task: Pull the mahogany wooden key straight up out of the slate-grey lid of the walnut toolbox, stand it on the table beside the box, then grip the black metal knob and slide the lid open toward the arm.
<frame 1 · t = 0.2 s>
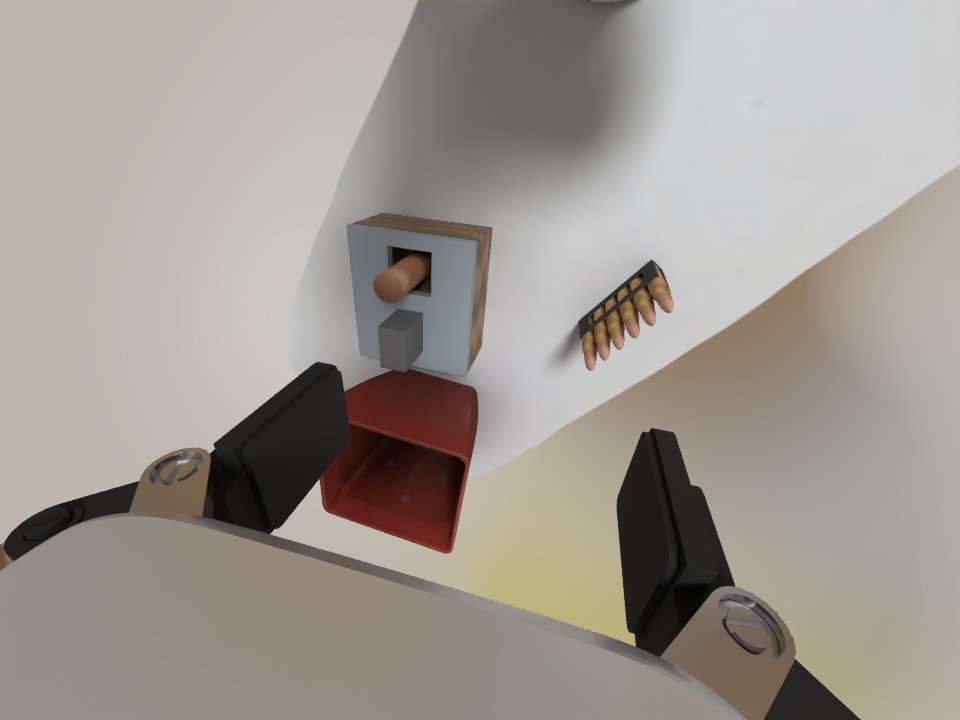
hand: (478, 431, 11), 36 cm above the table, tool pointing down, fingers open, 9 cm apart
ammunition clip: (618, 296, 45), on the table
toolbox lid: (403, 313, 41), point 10 cm above the table, slide at 0.0 cm
walnut toolbox: (434, 283, 49), on the table
wooden key: (432, 255, 46), point 1 cm above the table, touching walnut toolbox
plant pot: (433, 407, 60), on the table
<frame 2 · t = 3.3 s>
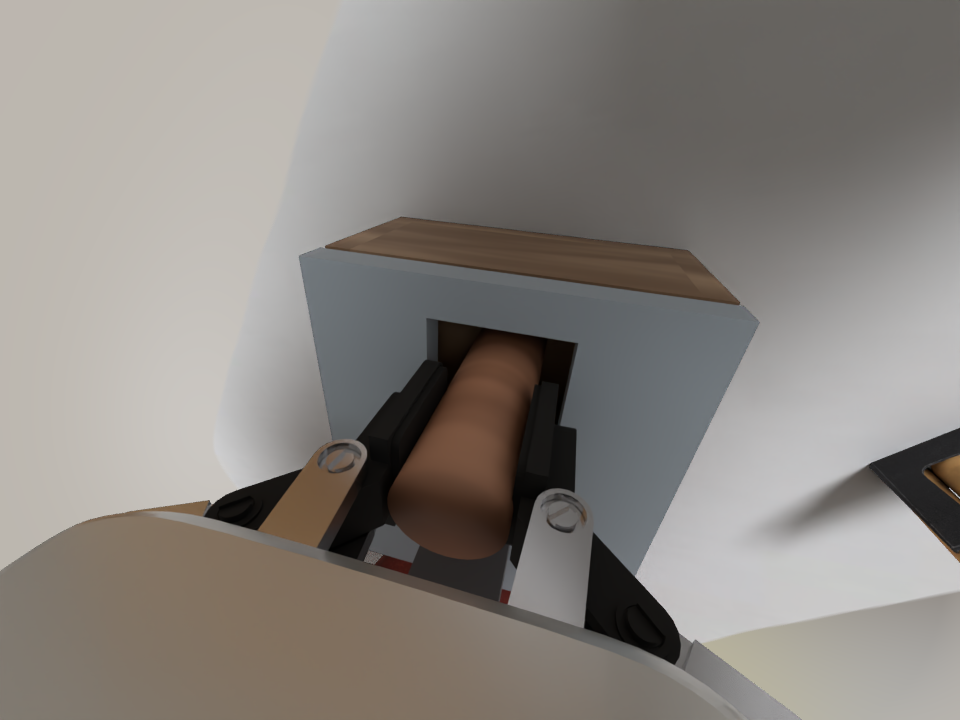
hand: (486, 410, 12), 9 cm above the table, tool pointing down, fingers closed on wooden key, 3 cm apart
toolbox lid: (473, 510, 14), point 10 cm above the table, slide at 0.0 cm
walnut toolbox: (516, 371, 22), on the table
wooden key: (522, 315, 19), point 1 cm above the table, touching gripper, walnut toolbox
plant pot: (489, 568, 33), on the table
when the fingers open (10 cm above the table, at t = 9.0 s): wooden key drops 1 cm, on the table.
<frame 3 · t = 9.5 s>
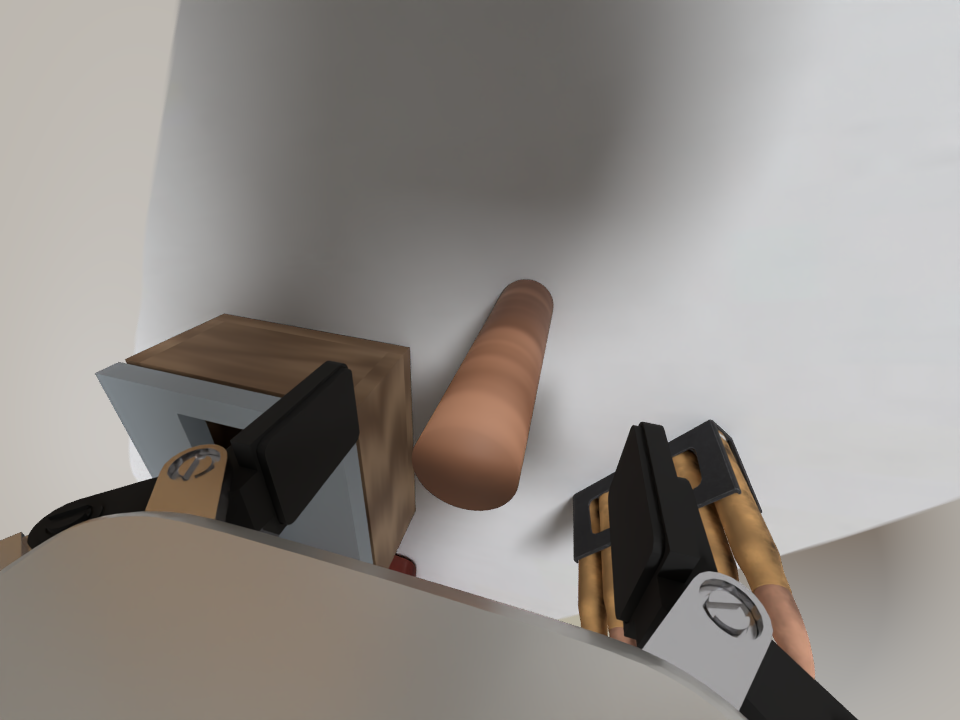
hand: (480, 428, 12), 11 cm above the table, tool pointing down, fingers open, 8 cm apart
ammunition clip: (643, 467, 24), on the table
toolbox lid: (223, 535, 21), point 10 cm above the table, slide at 0.0 cm
walnut toolbox: (329, 421, 29), on the table
wooden key: (525, 305, 21), on the table
plant pot: (358, 571, 40), on the table
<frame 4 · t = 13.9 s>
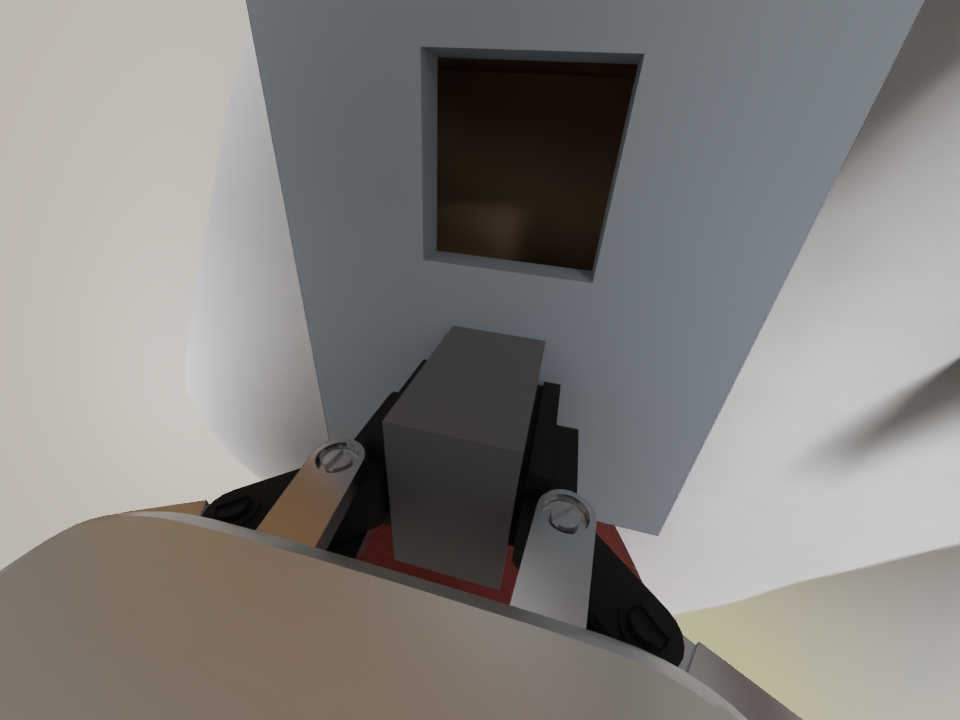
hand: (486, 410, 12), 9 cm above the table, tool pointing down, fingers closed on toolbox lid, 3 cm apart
toolbox lid: (486, 346, 10), point 10 cm above the table, slide at 0.0 cm, touching gripper
walnut toolbox: (531, 254, 18), on the table
plant pot: (496, 520, 29), on the table
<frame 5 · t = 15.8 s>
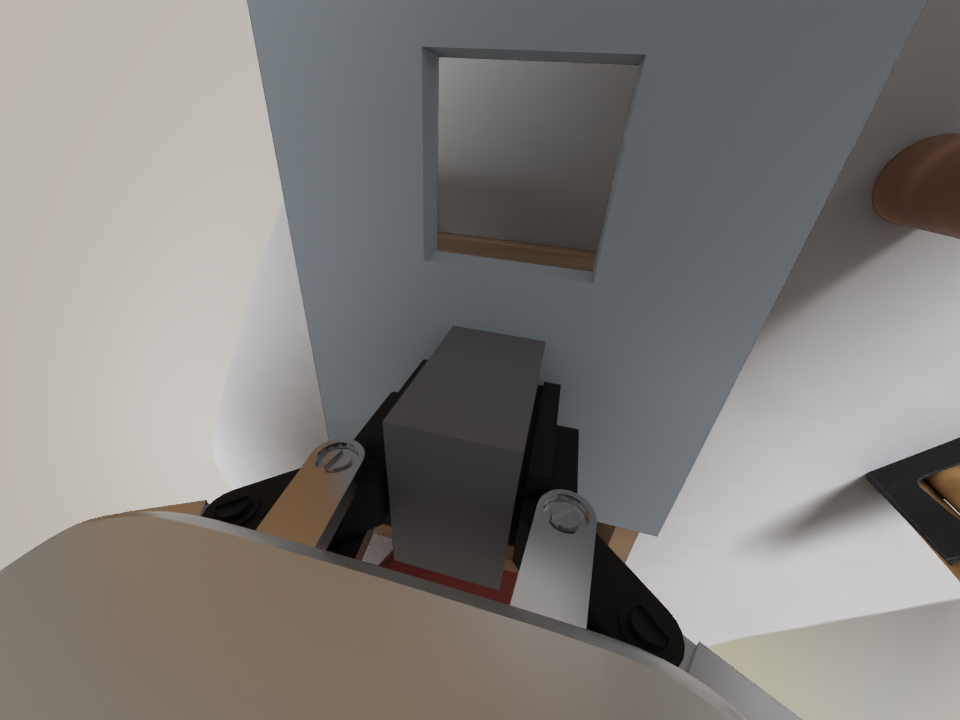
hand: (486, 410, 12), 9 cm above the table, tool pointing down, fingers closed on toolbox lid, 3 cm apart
toolbox lid: (486, 346, 10), point 10 cm above the table, slide at 7.5 cm, touching gripper
walnut toolbox: (514, 379, 22), on the table
wooden key: (925, 181, 14), on the table
plant pot: (488, 573, 33), on the table
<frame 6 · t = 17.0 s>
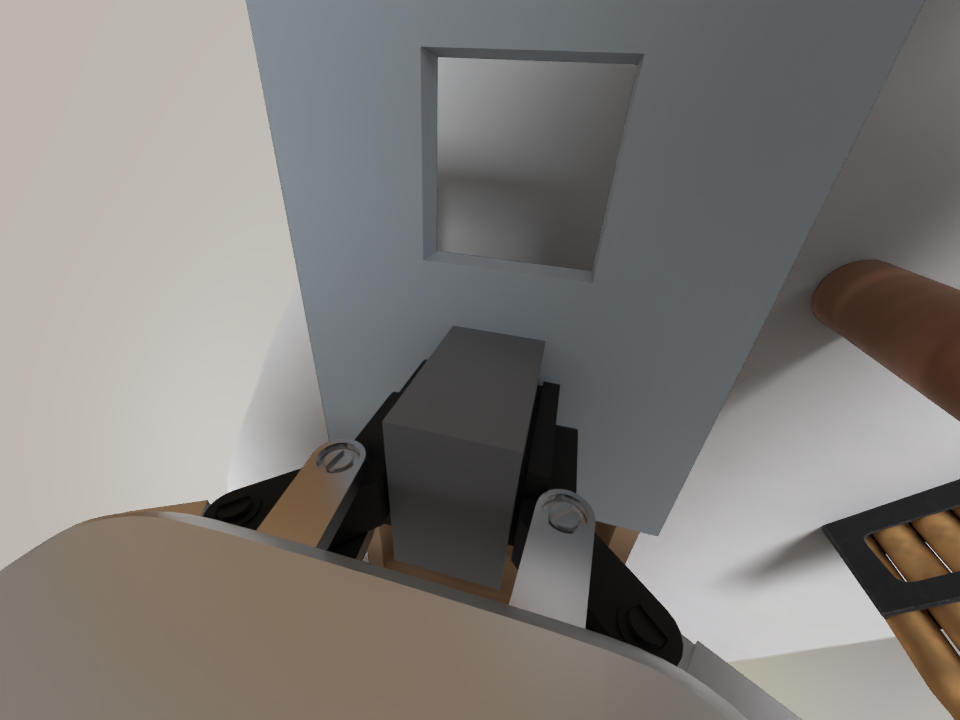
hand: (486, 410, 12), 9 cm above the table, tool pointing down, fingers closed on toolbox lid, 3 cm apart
ammunition clip: (937, 496, 20), on the table
toolbox lid: (486, 346, 10), point 10 cm above the table, slide at 12.0 cm, touching gripper
walnut toolbox: (507, 436, 25), on the table
wooden key: (855, 294, 16), on the table
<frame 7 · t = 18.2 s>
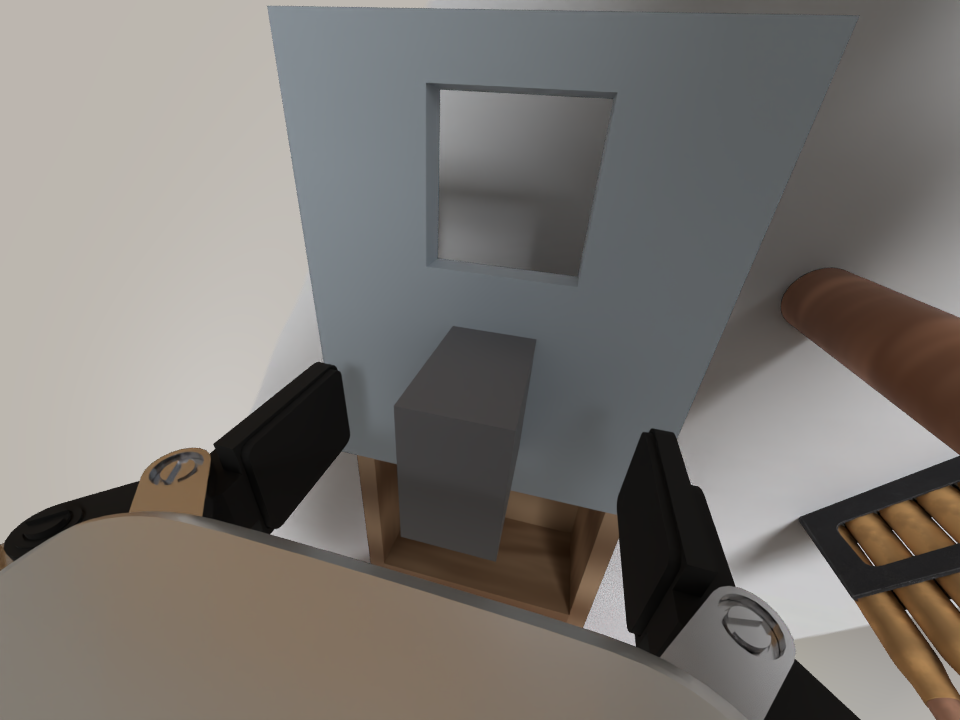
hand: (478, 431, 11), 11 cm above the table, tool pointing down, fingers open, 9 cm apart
ammunition clip: (903, 486, 21), on the table
toolbox lid: (483, 342, 11), point 10 cm above the table, slide at 12.0 cm
walnut toolbox: (502, 434, 26), on the table
wooden key: (819, 299, 18), on the table
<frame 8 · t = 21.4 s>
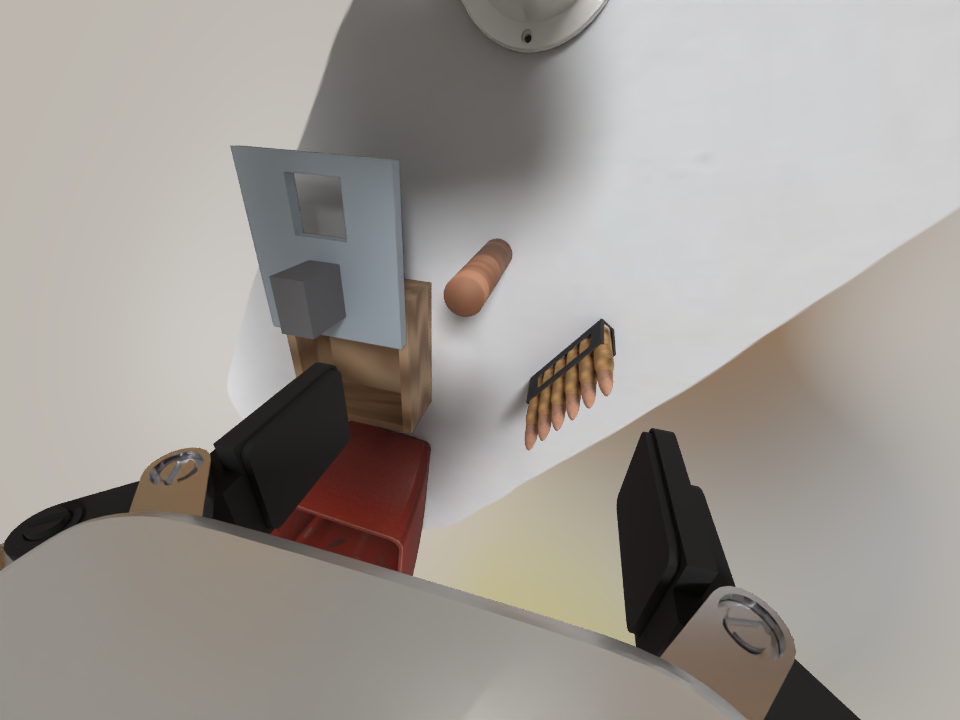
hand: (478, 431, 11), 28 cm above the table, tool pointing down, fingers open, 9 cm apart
ammunition clip: (569, 354, 41), on the table
toolbox lid: (309, 262, 31), point 10 cm above the table, slide at 12.0 cm
walnut toolbox: (377, 337, 46), on the table
wooden key: (497, 254, 37), on the table
plant pot: (388, 459, 57), on the table
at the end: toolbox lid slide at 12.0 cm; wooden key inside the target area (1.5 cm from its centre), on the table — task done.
